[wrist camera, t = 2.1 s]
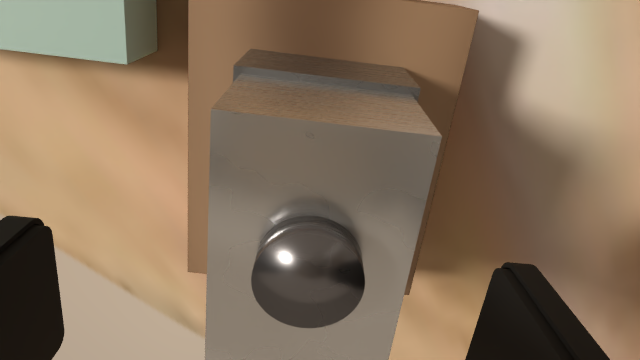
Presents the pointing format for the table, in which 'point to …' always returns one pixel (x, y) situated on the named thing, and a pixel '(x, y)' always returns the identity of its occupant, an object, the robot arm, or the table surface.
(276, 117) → the block
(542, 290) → the robot arm
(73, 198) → the table surface
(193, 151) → the stand walnut
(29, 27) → the stand teal
